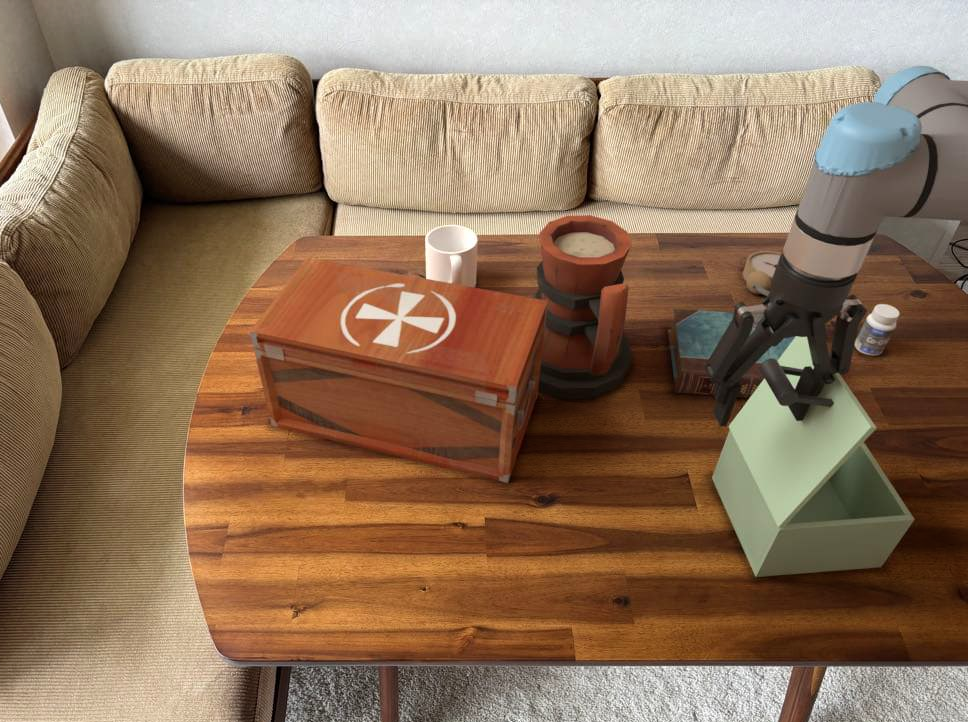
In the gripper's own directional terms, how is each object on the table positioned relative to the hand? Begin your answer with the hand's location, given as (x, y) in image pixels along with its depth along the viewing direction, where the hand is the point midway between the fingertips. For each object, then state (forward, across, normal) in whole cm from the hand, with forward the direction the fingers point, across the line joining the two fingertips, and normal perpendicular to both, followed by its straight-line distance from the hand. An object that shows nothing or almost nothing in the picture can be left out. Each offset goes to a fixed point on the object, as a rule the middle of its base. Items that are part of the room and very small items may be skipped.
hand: (757, 415), depth 95 cm
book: (+23, -16, -33) cm, 44 cm away
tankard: (+23, +13, -37) cm, 45 cm away
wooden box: (+23, +42, -28) cm, 56 cm away
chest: (+23, -12, 0) cm, 26 cm away
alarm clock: (+23, -31, -56) cm, 68 cm away
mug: (+23, +32, -62) cm, 73 cm away
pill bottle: (+23, -41, -36) cm, 59 cm away
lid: (+3, -6, 0) cm, 6 cm away
